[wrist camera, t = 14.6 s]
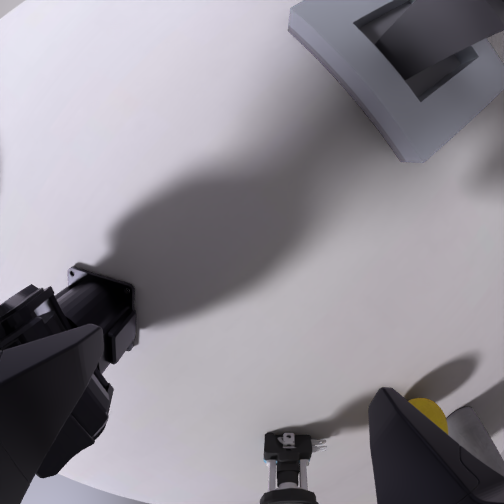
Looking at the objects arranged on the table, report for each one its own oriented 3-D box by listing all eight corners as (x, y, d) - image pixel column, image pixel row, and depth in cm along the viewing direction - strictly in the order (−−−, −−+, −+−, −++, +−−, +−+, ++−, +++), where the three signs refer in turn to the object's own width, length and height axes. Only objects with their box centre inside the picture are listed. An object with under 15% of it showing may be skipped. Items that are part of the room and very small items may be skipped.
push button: (329, 423, 25) (341, 506, 16) (321, 451, 27) (328, 526, 17) (262, 424, 26) (256, 510, 16) (261, 452, 27) (255, 528, 18)
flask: (437, 416, 25) (494, 552, 6) (476, 400, 24) (542, 518, 5) (417, 474, 29) (446, 576, 10) (450, 461, 28) (486, 556, 9)
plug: (404, 80, 16) (537, 15, 3) (374, 44, 15) (475, -58, 3) (440, 55, 14) (560, -2, 2) (412, 21, 14) (512, -62, 2)
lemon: (431, 374, 23) (464, 430, 15) (428, 409, 25) (453, 462, 17) (380, 393, 24) (404, 457, 16) (381, 426, 25) (399, 484, 18)
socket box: (400, 161, 18) (426, 163, 14) (287, 30, 16) (290, 5, 12) (487, 86, 15) (516, 79, 12) (394, -26, 13) (410, -49, 9)
